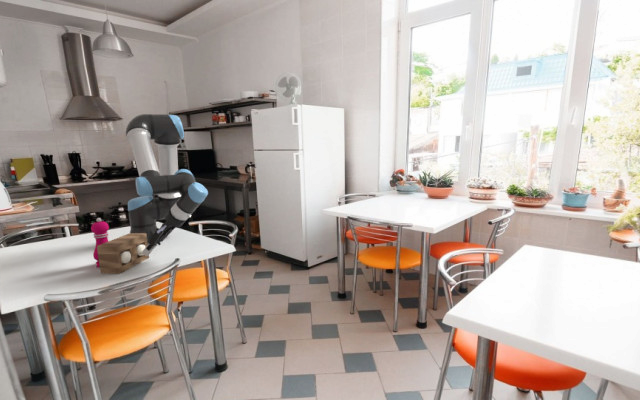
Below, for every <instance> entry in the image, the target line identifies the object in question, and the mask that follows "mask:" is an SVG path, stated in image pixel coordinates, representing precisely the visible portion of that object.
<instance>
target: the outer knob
mask: <svg viewBox="0 0 640 400" xmlns="http://www.w3.org/2000/svg"><path fill="white" fill-rule="evenodd" d="M120 254H121V261H122V263H128V262H129V261H130V259H131V254H130V252H128V251H123V252H121V253H120Z"/></svg>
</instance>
